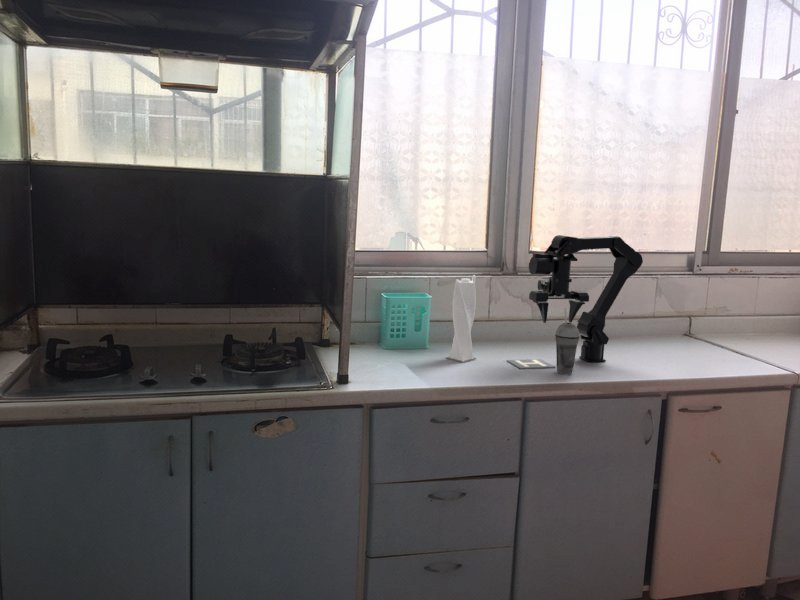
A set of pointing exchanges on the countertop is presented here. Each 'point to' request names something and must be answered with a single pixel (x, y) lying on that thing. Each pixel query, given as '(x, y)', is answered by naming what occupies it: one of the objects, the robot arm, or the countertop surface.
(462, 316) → the skyscraper
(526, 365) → the letter card
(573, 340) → the beverage cup
